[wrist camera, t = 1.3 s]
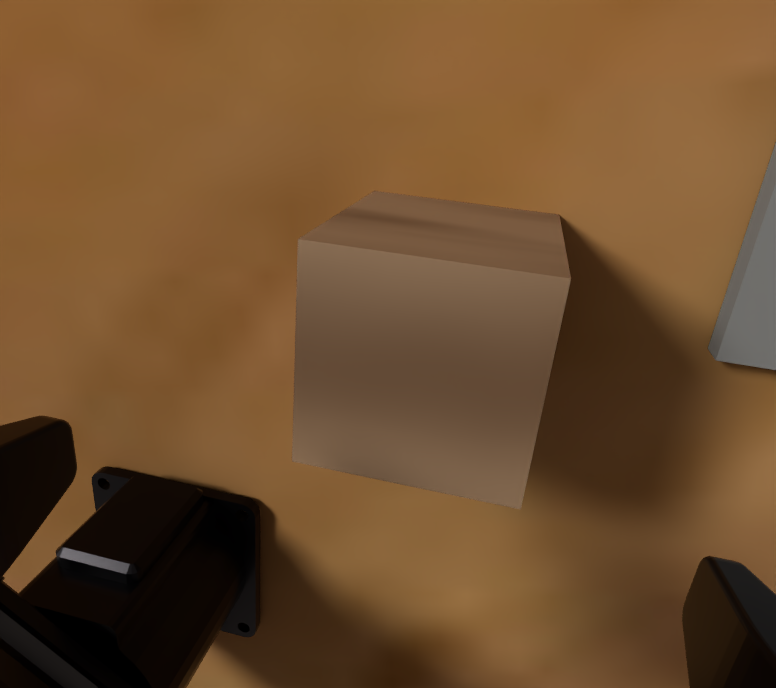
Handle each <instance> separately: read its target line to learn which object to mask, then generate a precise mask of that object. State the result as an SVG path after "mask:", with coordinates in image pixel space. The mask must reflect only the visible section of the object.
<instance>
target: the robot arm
mask: <svg viewBox="0 0 776 688" xmlns="http://www.w3.org/2000/svg"><path fill="white" fill-rule="evenodd" d="M76 471H77V462H76V455H75V448H74V441H73V434H72V429H71V426H70V425H69V423H68V422H66V421H65V420H62V419H57V418H53V417H48V416H36V417H32V418H28V419H25V420H21V421H17V422H13V423H9V424H5V425H2V426H0V688H186V687H187V686H188V684H189V682H190V681H191V679H192V677H193V675H194V674H195V672H196V670H197V669H198V667H199V665H200V663H201V662H202V660H203V658H204V657H205V655H206V653H207V652H208V650H209V648H210V646H211V645H212V643H213V641H214V640H215V638H216V636H217V634H218V633H219V631H220V630H221V631H224V632H228V633H232V634H236V635H239V636H243V637H251V636H253V635H254V634H255V633H256V631H257V629H258V627H259V624H260V510H259V507H258V505H257V504H256V502H254V501H253V500H252V499H249V498H246V497H242V496H237V495H233V494H229V493H224V492H220V491H215V490H211V489H206V488H202V487H197V486H193V485H189V484H184V483H180V482H175V481H171V480H166V479H162V478H157V477H153V476H149V475H144V474H140V473H135V472H131V471H126V470H122V469H117V468H113V467H102V468H101V469H100V470H98V471H97V472H96V473H95V474H94V475H93V477H92V486H93V493H94V501H95V508H96V512H95V513H94V514H93V515H92V516H91V517H90V518H89V519H88V520H87V521H86V522H85V523H84V524H82V525H81V526H80V527H79V528H78V529H77V530H76V531H75V532H74V533H73V534H72V535H71V536H70V537H69V538H68V539H67V540H66V541H65V542H64V543H63V544H62V545H61V546H60V547H58V549H57V550H56V557H55V558H54V559H53V560H52V561H51V562H50V563H49V564H48V565H47V566H46V567H45V568H44V569H43V570H42V571H41V572H40V573H39V574H38V575H37V576H36V577H35V578H34V579H33V580H32V581H31V582H30V583H29V584H28V585H27V586H26V587H25V588H24V589H23V590H22V591H21V592H20V593H17V592H16V591H15V590H13V589H12V588H11V587H10V586H8V585H7V584H6V583H5V582H3V580H4V577H3V575H4V573H5V572H6V571H7V570H8V569H9V568H10V566H11V565H12V564H13V562H14V561H15V560H16V558H17V557H18V556H19V555H20V553H21V552H22V551H23V549H24V548H25V546H26V545H27V544H28V542H29V541H30V540H31V538H32V537H33V536H34V534H35V533H36V531H37V530H38V529H39V527H40V526H41V525H42V523H43V522H44V520H45V519H46V518H47V516H48V515H49V514H50V512H51V511H52V510H53V508H54V507H55V505H56V504H57V503H58V501H59V500H60V499H61V497H62V496H63V495H64V493H65V492H66V490H67V489H68V488H69V486H70V485H71V483H72V482H73V480H74V478H75V475H76ZM241 510H243V511H245V512H246V513H247V514H248V515H247V514H245V513H243V512H242V511H241ZM682 622H683V632H684V641H685V650H686V658H687V667H688V676H689V685H690V688H776V594H775V593H774V592H772V591H771V590H770V589H769V588H768V587H767V586H766V585H765V584H764V583H763V582H762V581H760V580H759V579H758V578H757V577H756V576H755V575H754V574H753V573H752V572H751V571H750V570H748V569H747V568H746V567H745V566H744V565H743V564H741V563H739V562H736V561H732V560H727V559H722V558H717V557H713V556H708V557H705V558H703V559H702V561H701V562H700V564H699V566H698V568H697V571H696V574H695V576H694V579H693V581H692V584H691V587H690V589H689V592H688V594H687V597H686V600H685V603H684V607H683V614H682Z"/></svg>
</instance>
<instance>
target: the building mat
mask: <svg viewBox="0 0 776 688" xmlns="http://www.w3.org/2000/svg"><path fill="white" fill-rule="evenodd" d="M708 350H709V351H710V353H711V354H712V356H713V357H714V359H715V360H716V361H723V362H729V363H735V364H741V365H747V366H753V367H760V368H766V369H772V370H776V143H775V146H774V149H773V152H772V155H771V158H770V161H769V165H768V168H767V171H766V174H765V177H764V180H763V183H762V186H761V189H760V192H759V195H758V198H757V201H756V204H755V207H754V210H753V213H752V216H751V219H750V222H749V225H748V228H747V231H746V234H745V237H744V240H743V243H742V246H741V249H740V252H739V255H738V258H737V261H736V264H735V267H734V270H733V273H732V276H731V279H730V283H729V286H728V289H727V292H726V295H725V298H724V301H723V304H722V307H721V310H720V313H719V316H718V319H717V322H716V325H715V328H714V331H713V334H712V337H711V340H710V343H709V346H708Z"/></svg>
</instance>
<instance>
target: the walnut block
mask: <svg viewBox="0 0 776 688" xmlns="http://www.w3.org/2000/svg"><path fill="white" fill-rule="evenodd" d="M570 281H571V275H570V270H569V265H568V259H567V254H566V248H565V243H564V238H563V232H562V227H561V221H560V216H559V215H558V214H550V213H542V212H535V211H527V210H519V209H511V208H503V207H496V206H488V205H480V204H472V203H464V202H457V201H449V200H441V199H433V198H426V197H418V196H410V195H402V194H394V193H387V192H379V191H373V192H372V193H370V194H369V195H367V196H366V197H364V198H362V199H361V200H359V201H358V202H356V203H354V204H353V205H351V206H350V207H348V208H347V209H345V210H343V211H342V212H340V213H339V214H337V215H335V216H334V217H332V218H331V219H329V220H327V221H326V222H324V223H323V224H321V225H320V226H318V227H316V228H315V229H313V230H312V231H310V232H308V233H307V234H305V235H304V236H302V237H301V238H299V239H298V259H297V297H296V334H295V372H294V410H293V447H292V461H293V462H298V463H302V464H307V465H312V466H317V467H321V468H326V469H331V470H336V471H340V472H345V473H350V474H355V475H359V476H364V477H369V478H374V479H378V480H383V481H388V482H393V483H397V484H402V485H407V486H412V487H416V488H421V489H426V490H431V491H436V492H440V493H445V494H450V495H455V496H459V497H464V498H469V499H474V500H478V501H483V502H488V503H493V504H497V505H502V506H507V507H512V508H516V509H521V506H522V501H523V497H524V492H525V488H526V483H527V478H528V474H529V469H530V465H531V460H532V456H533V451H534V446H535V442H536V437H537V433H538V428H539V423H540V419H541V414H542V410H543V405H544V401H545V396H546V391H547V387H548V382H549V378H550V373H551V368H552V364H553V359H554V355H555V350H556V346H557V341H558V336H559V332H560V327H561V323H562V318H563V314H564V309H565V304H566V300H567V295H568V291H569V286H570Z"/></svg>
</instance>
